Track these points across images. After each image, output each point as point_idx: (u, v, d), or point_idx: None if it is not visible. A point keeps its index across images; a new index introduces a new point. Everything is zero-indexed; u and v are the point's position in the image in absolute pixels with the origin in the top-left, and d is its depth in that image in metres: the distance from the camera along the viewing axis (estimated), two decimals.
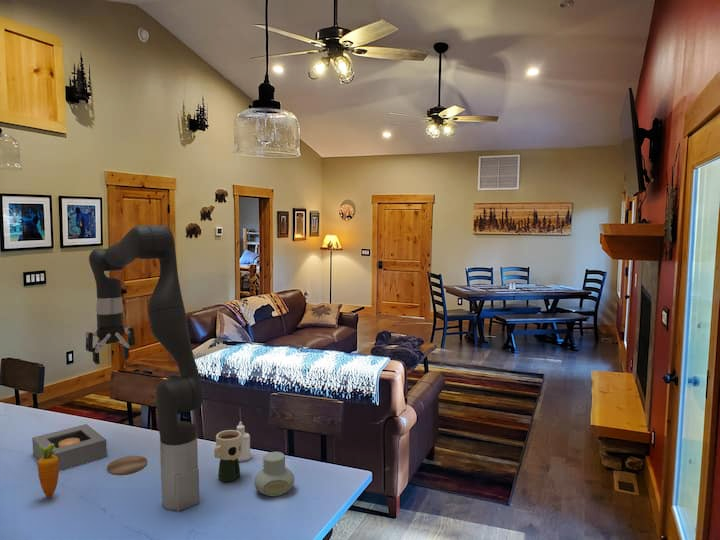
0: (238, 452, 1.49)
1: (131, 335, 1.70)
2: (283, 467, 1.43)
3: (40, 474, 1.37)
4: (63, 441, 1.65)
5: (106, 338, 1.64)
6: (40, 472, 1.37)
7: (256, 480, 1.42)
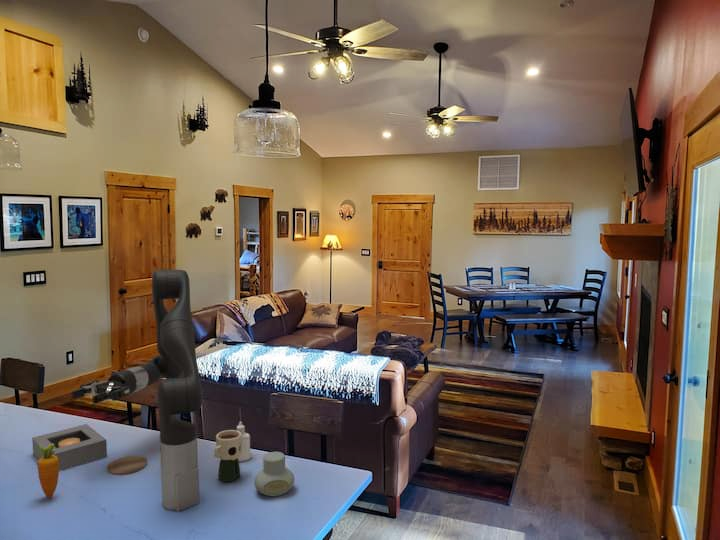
0: (238, 452, 1.49)
1: (120, 388, 1.52)
2: (283, 467, 1.43)
3: (40, 474, 1.37)
4: (63, 441, 1.65)
5: (101, 382, 1.55)
6: (40, 472, 1.37)
7: (256, 480, 1.42)
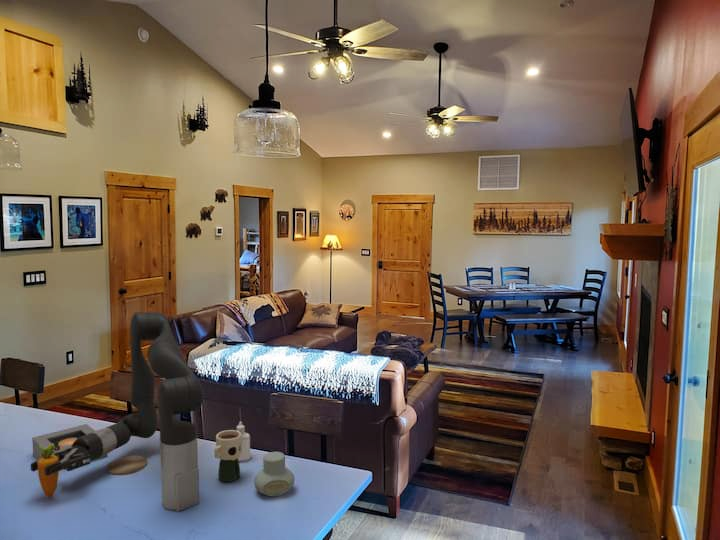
0: (238, 452, 1.49)
1: (78, 457, 1.41)
2: (283, 467, 1.43)
3: (40, 474, 1.37)
4: (63, 441, 1.65)
5: (64, 449, 1.45)
6: (40, 472, 1.37)
7: (256, 480, 1.42)
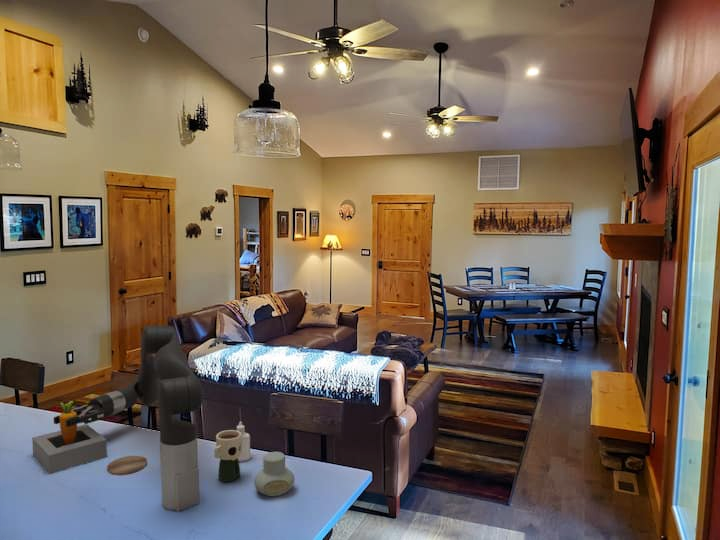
0: (238, 452, 1.49)
1: (93, 413, 1.66)
2: (283, 467, 1.43)
3: (62, 426, 1.62)
4: None
5: (81, 406, 1.70)
6: (62, 424, 1.62)
7: (256, 480, 1.42)
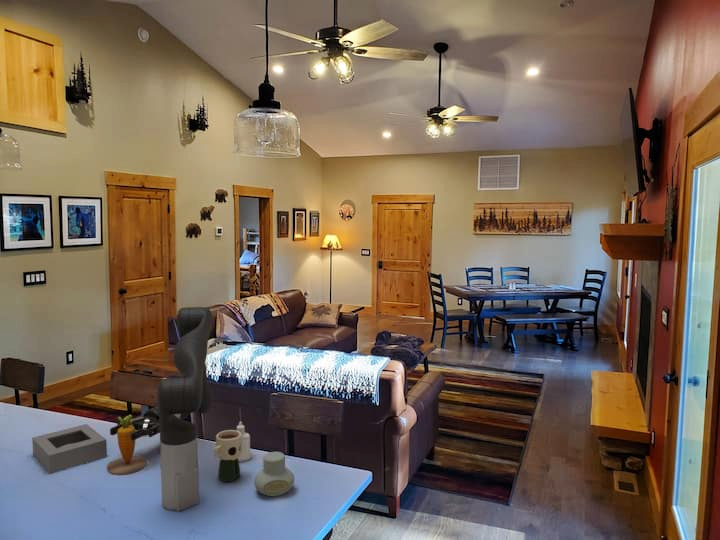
0: (238, 452, 1.49)
1: (155, 425, 1.60)
2: (283, 467, 1.43)
3: (120, 441, 1.56)
4: None
5: (137, 418, 1.63)
6: (120, 440, 1.56)
7: (256, 480, 1.42)
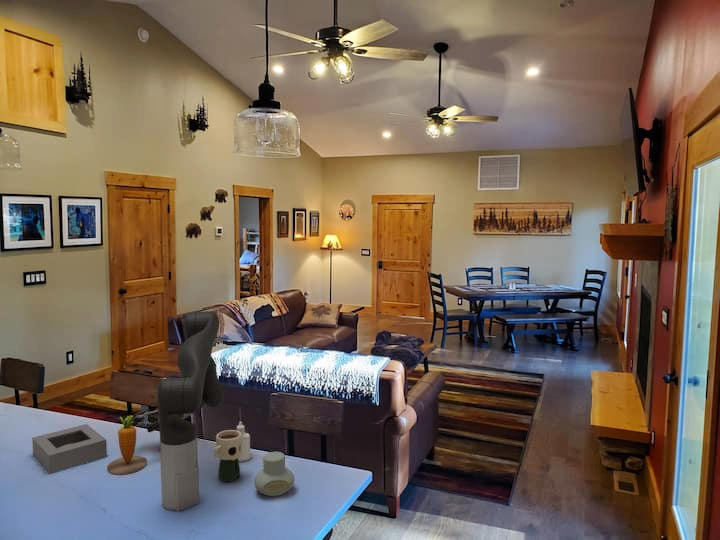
0: (238, 452, 1.49)
1: None
2: (283, 467, 1.43)
3: (121, 442, 1.55)
4: None
5: (153, 411, 1.69)
6: (121, 440, 1.55)
7: (256, 480, 1.42)
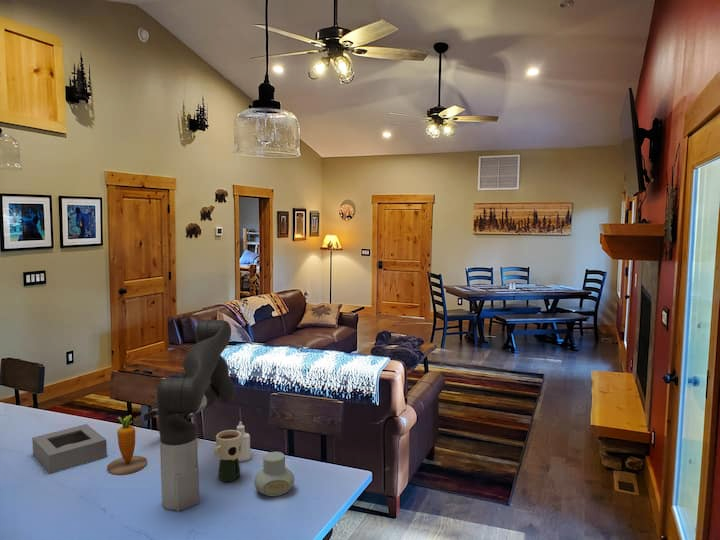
0: (238, 452, 1.49)
1: None
2: (283, 467, 1.43)
3: (120, 442, 1.56)
4: None
5: None
6: (120, 440, 1.55)
7: (256, 480, 1.42)
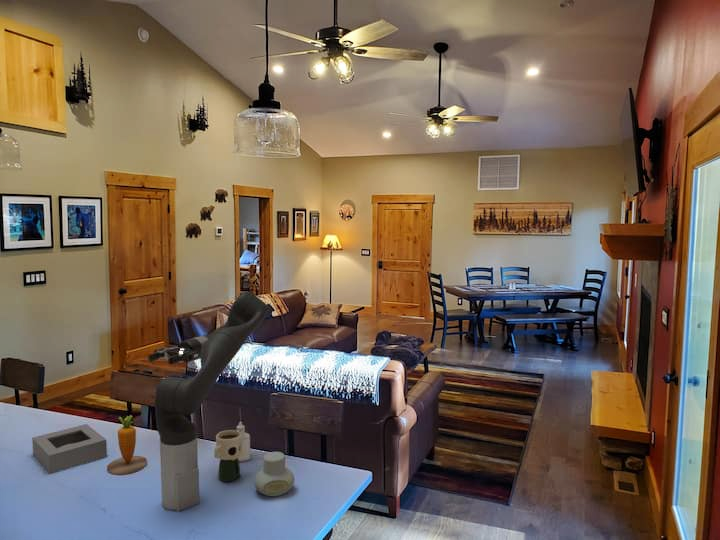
0: (238, 452, 1.49)
1: (190, 352, 1.71)
2: (283, 467, 1.43)
3: (121, 442, 1.55)
4: None
5: (173, 348, 1.74)
6: (121, 440, 1.55)
7: (256, 480, 1.42)
